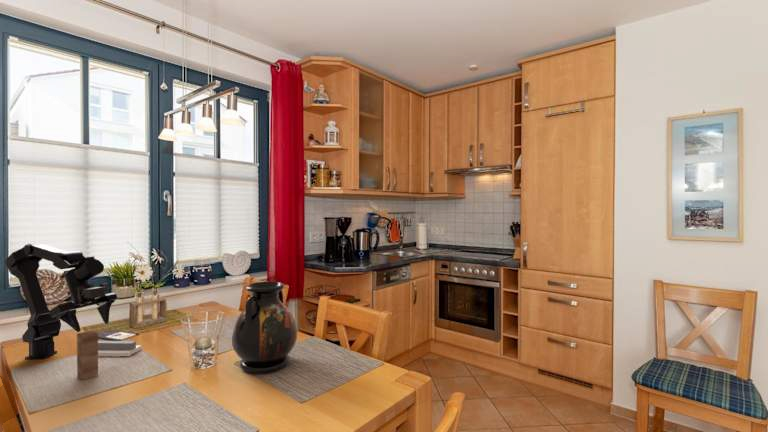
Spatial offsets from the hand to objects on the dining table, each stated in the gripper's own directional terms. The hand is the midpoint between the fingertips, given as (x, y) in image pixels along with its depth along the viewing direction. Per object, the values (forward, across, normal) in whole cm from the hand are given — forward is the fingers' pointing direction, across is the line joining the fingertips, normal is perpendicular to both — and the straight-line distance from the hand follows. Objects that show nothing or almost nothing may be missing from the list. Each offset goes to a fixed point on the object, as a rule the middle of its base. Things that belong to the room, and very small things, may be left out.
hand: (93, 327), depth 128 cm
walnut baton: (+15, -7, 0) cm, 16 cm away
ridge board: (+9, +10, +11) cm, 17 cm away
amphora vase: (+36, +18, -44) cm, 60 cm away
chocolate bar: (+2, +24, +27) cm, 36 cm away
